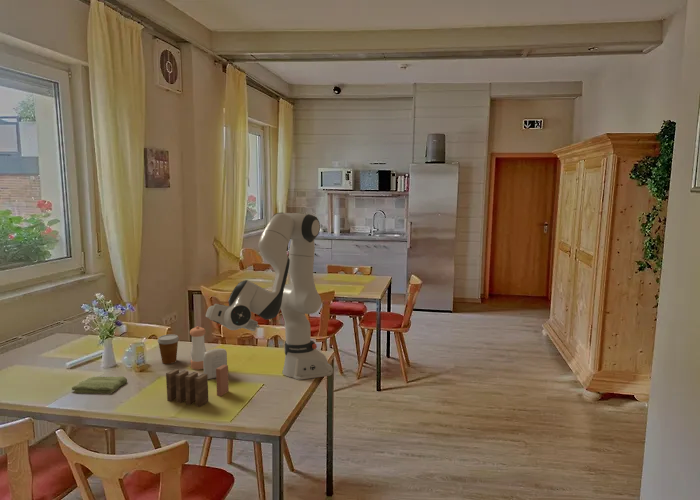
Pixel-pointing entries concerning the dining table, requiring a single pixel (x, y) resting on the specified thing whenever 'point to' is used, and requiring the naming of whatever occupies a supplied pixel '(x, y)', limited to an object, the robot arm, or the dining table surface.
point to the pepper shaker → (197, 348)
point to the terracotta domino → (222, 380)
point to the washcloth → (99, 385)
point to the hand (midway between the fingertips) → (229, 320)
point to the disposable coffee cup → (168, 348)
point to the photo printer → (214, 361)
